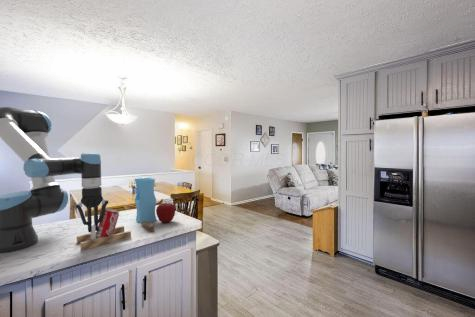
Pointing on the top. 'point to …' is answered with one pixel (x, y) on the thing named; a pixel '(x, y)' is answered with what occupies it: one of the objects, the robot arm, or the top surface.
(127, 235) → the chute
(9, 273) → the top surface
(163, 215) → the apple
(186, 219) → the top surface
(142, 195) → the light blue storage bin
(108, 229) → the soda can
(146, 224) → the block
